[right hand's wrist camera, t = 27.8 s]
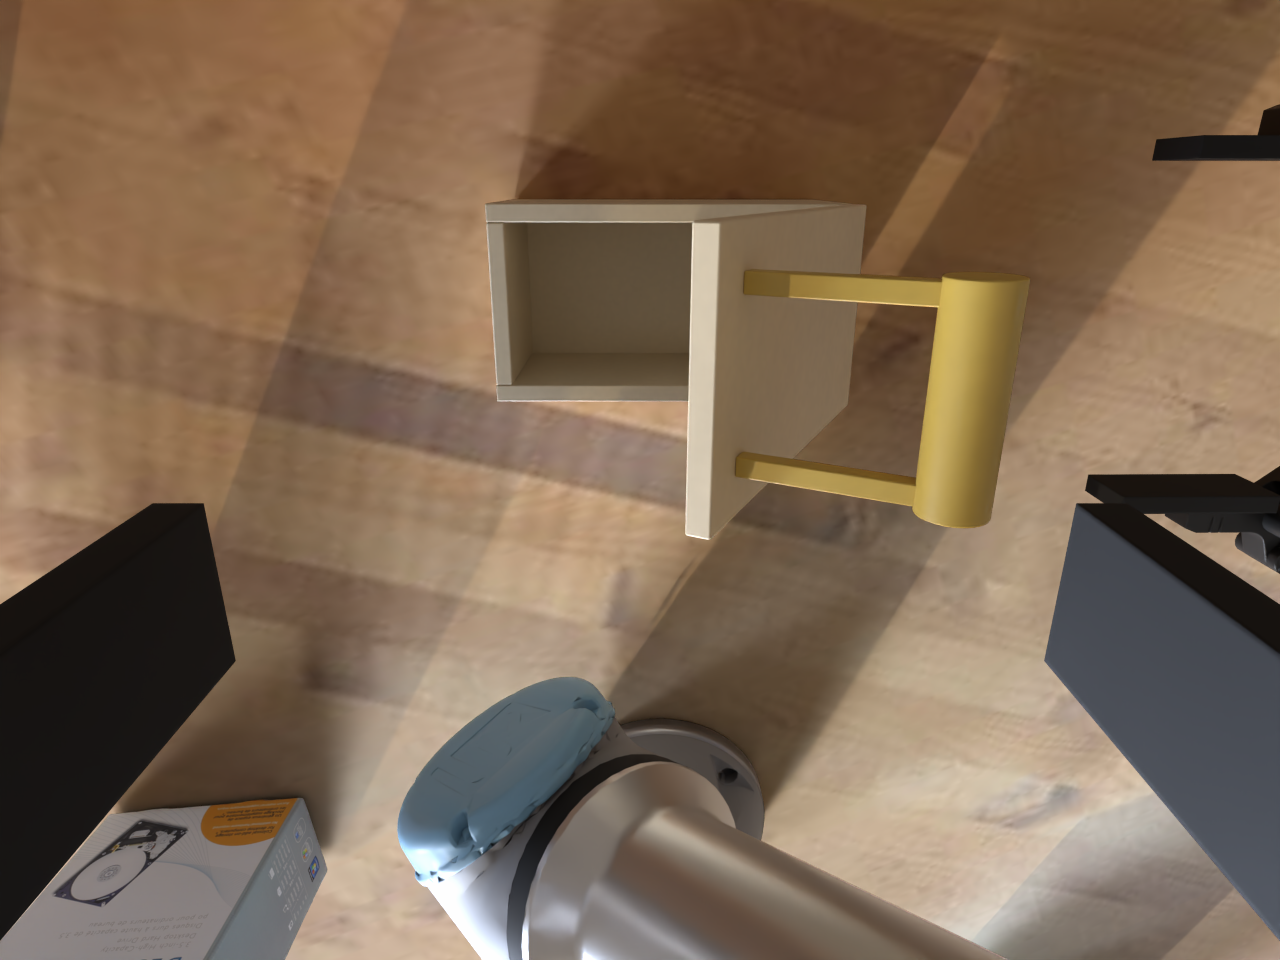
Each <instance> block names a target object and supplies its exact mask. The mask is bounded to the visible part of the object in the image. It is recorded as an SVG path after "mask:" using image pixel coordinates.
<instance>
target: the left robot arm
mask: <svg viewBox="0 0 1280 960" xmlns="http://www.w3.org/2000/svg"><path fill="white" fill-rule="evenodd" d="M1152 161H1280V104H1279V105H1276V106H1274V107H1271V108H1269V109H1266V110H1264V111H1263V115H1262V119H1261V124H1260V128H1259V132H1258V135H1201V136H1190V137H1179V138H1167V139H1157V140H1156V145H1155V149H1154V154H1153V159H1152ZM1085 491H1087V492H1088V493H1090V494H1091V495H1093V496H1094V497H1096V498H1097V499H1099V500H1100V501H1102V502H1103V503H1127V504H1129V505H1130V506H1132V507H1133V508H1135V509H1137V510H1138V511H1140V512H1141V513H1143V514H1165V516H1166V517H1168V518H1169V519H1171V520H1173V521H1174V522H1176V523H1178V524H1179V525H1181V526H1182V527H1184V528H1186V529H1188V530H1191V531H1193V532H1196V533H1208V532H1211V533H1215V532H1240V533H1239V534H1238V535H1237V537H1236V539H1235V545H1236V547H1237V549H1239V550H1241V551H1242V552H1244V553H1246V554H1247V555H1249V556H1251V557H1252V558H1254V559H1256V560H1257V561H1259V562H1261V563H1262V564H1264V565H1266V566H1267V567H1269V568H1271V569H1273V570H1274V571H1276V572H1278V573H1279V574H1280V466H1279V467H1278V468H1276V469H1275V470H1273V471H1272V472H1270V473H1268V474H1267V475H1265V476H1264V477H1262V478H1261V479H1259V480H1258V481H1256V482H1255V483H1253V482H1251V481H1248V480H1246V479H1244V478H1242V477H1240V476H1238V475H1236V474H1126V475H1088V479H1087V484H1086V489H1085ZM763 826H764V803H763V798H762V793H761V788H760V784H759V780H758V777H757V774H756V772H755V770H754V768H753V766H752V764H751V763H750V761H749V760H748V758H747V757H746V756H745V755H744V753H743V752H742V751H741V750H740V749H739V748H738V747H737V746H736V745H735V744H733V743H732V742H731V741H730V740H728V739H727V738H725V737H724V736H722V735H721V734H719V733H717V732H715V731H713V730H711V729H709V728H706V727H704V726H701V725H698V724H694V723H691V722H686V721H681V720H673V719H649V720H640V721H636V722H631V723H627V724H624V725H619V723H618V721H617V720H616V718H615V709H614V708H613V706H612V703H611V702H609V701H606V700H605V698H604V697H603V696H602V694H601V693H600V692H599V691H598V689H597V688H596V687H595V686H594V685H593V684H591V683H590V682H588V681H586V680H584V679H581V678H576V677H560V678H554V679H549V680H545V681H542V682H539V683H536V684H533V685H531V686H528V687H526V688H524V689H522V690H520V691H518V692H516V693H515V694H512V695H510V696H508V697H506V698H505V699H503V700H501V701H499V702H498V703H496V704H495V705H493V706H491V707H490V708H489V709H487V710H486V711H484V712H483V713H481V714H480V715H479V716H477V717H476V718H475V719H473V720H472V721H471V722H469V723H468V724H467V725H466V726H464V727H463V728H462V729H461V730H460V731H459V732H457V733H456V734H455V735H454V736H453V737H452V738H451V739H450V740H449V741H448V742H447V743H446V744H444V745H443V747H442V748H441V749H440V750H439V751H438V752H437V753H436V754H435V755H434V756H433V757H432V758H431V760H430V761H429V762H428V763H427V764H426V766H425V767H424V768H423V769H422V771H421V772H420V774H419V775H418V776H417V778H416V780H415V783H414V784H413V785H412V787H411V788H410V790H409V791H408V793H407V795H406V797H405V799H404V801H403V804H402V807H401V810H400V813H399V818H398V838H399V842H400V845H401V847H402V849H403V851H404V852H405V854H406V856H407V857H408V859H409V860H410V862H411V863H412V865H413V867H414V868H415V870H416V871H415V877H416V879H417V880H418V881H419V882H420V883H421V884H422V885H423V886H427V887H428V888H429V889H430V891H431V892H432V893H433V895H434V896H435V897H436V899H437V900H438V901H439V903H440V904H441V905H442V907H443V908H444V909H445V911H446V912H447V913H448V915H449V916H450V917H451V919H452V920H453V921H454V923H455V924H456V925H457V927H458V928H459V929H460V930H461V932H462V933H463V934H464V936H465V937H466V938H467V940H468V941H469V942H470V944H471V945H472V946H473V948H474V949H475V950H476V952H477V953H478V954H479V956H480V957H481V958H482V960H1008V959H1006V958H1004V957H1002V956H1000V955H998V954H996V953H994V952H992V951H989V950H987V949H985V948H983V947H981V946H979V945H977V944H975V943H973V942H971V941H969V940H967V939H964V938H962V937H960V936H958V935H956V934H954V933H952V932H950V931H948V930H946V929H944V928H942V927H940V926H937V925H935V924H933V923H931V922H929V921H927V920H925V919H923V918H921V917H919V916H917V915H915V914H912V913H910V912H908V911H906V910H904V909H902V908H900V907H898V906H896V905H894V904H892V903H890V902H887V901H885V900H883V899H881V898H879V897H877V896H875V895H873V894H871V893H869V892H867V891H865V890H863V889H860V888H858V887H856V886H854V885H852V884H850V883H848V882H846V881H844V880H842V879H840V878H838V877H835V876H833V875H831V874H829V873H827V872H825V871H823V870H821V869H819V868H817V867H815V866H813V865H810V864H808V863H806V862H804V861H802V860H800V859H798V858H796V857H794V856H792V855H790V854H788V853H786V852H783V851H781V850H779V849H777V848H775V847H773V846H771V845H769V844H767V843H765V842H763V841H761V838H762V833H763Z"/></svg>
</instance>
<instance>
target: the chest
mask: <svg viewBox="0 0 1280 960" xmlns="http://www.w3.org/2000/svg"><path fill="white" fill-rule="evenodd" d="M846 204H849V203H840V202H832V201H823V200H715V199H513V200H506V201H499V202H493V203H486V204H485V209H486V222H488V223H487V239H488V255H489V271H490V287H491V303H492V319H493V335H494V351H495V368H496V383H497V400H498V401H688V396H689V352H690V308H691V264H692V223H693V221H695V220H701V219H711V218H721V217H730V216H740V215H749V214H759V213H769V212H778V211H788V210H798V209H807V208H817V207H827V206H836V205H846Z"/></svg>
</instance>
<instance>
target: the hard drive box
mask: <svg viewBox="0 0 1280 960" xmlns="http://www.w3.org/2000/svg"><path fill="white" fill-rule="evenodd" d="M326 872H327V866H326V863H325V860H324V857H323V855H322V852H321V848H320V845H319V843H318V840H317V837H316V834H315V831H314V828H313V825H312V822H311V819H310V816H309V813H308V810H307V807H306V804H305V801H304V799H303V798H292V799H280V800H264V799H263V800H253V801H246V802H241V803H233V804H221V805H210V806H198V807H186V808H175V809H168V808H162V809H152V810H145V811H139V812H128V813H118V814H110V815H109V816H108V817H107V818H106V819H105V820H104V822H103V823H102V824H101V825H100V826H99V827H98V829H97V830H96V831H95V832H94V833H93V834H92V835H91V837H90V838H89V839H88V840H87V841H86V842H85V844H84V845H83V846H82V847H81V848H80V849H79V850H78V852H77V853H76V854H75V855H74V856H73V857H72V859H71V860H70V861H69V862H68V863H67V864H66V865H65V867H64V868H63V869H62V870H61V871H60V872H59V874H58V875H57V876H56V877H55V878H54V879H53V881H52V882H51V883H50V884H49V885H48V886H47V888H46V889H45V890H44V891H43V892H42V893H41V895H40V896H39V897H38V898H37V899H36V900H35V902H34V903H33V904H32V905H31V906H30V907H29V909H28V910H27V911H26V912H25V913H24V914H23V915H22V917H21V918H20V919H19V920H18V921H17V922H16V924H15V925H14V926H13V927H12V928H11V929H10V931H9V932H8V933H7V934H6V935H5V936H4V938H3V939H2V940H1V941H0V960H285V958H286V956H287V954H288V952H289V950H290V947H291V945H292V943H293V941H294V939H295V937H296V935H297V932H298V930H299V928H300V926H301V924H302V922H303V920H304V918H305V915H306V913H307V912H308V909H309V907H310V905H311V903H312V901H313V899H314V897H315V895H316V892H317V891H318V888H319V886H320V884H321V882H322V880H323V878H324V876H325V874H326Z"/></svg>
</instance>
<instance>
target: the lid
mask: <svg viewBox="0 0 1280 960" xmlns="http://www.w3.org/2000/svg"><path fill="white" fill-rule="evenodd" d="M866 207H867V206H866V205H865V204H846V205H836V206H827V207H817V208H807V209H798V210H788V211H778V212H769V213H759V214H749V215H740V216H730V217H721V218H711V219H701V220H695V221H693V223H692V264H691V308H690V352H689V396H688V440H687V483H686V527H685V534H686V535H688V536H693V537H698V538H703V539H707V540H710V539H712V538H713V537H714V536H715V535H716V534H717V533H718V532H719V531H720V530H721V529H722V528H723V527H724V526H725V525H726V524H727V523H728V522H729V521H730V520H731V519H732V518H733V517H734V516H735V515H736V514H737V513H738V512H739V511H740V510H741V509H742V508H743V507H744V506H745V505H746V504H747V503H748V502H749V501H750V500H751V499H752V498H753V497H754V496H755V495H756V494H757V493H758V492H759V491H761V490H762V489H763V488H764V487H765V486H766V485H767V484H768V483H775V484H781V485H787V486H793V487H799V488H805V489H811V490H817V491H823V492H829V493H835V494H841V495H847V496H853V497H859V498H865V499H871V500H877V501H883V502H889V503H895V504H901V505H907V506H912V510H913V512H914V513H915V515H917V516H918V517H919V518H921V519H923V520H925V521H927V522H930V523H933V524H937V525H941V526H946V527H953V528H975V527H980V526H983V525H986V524H987V523H988V522H989V521H990V519H991V513H992V507H993V501H994V495H995V489H996V483H997V477H998V471H999V465H1000V459H1001V453H1002V447H1003V441H1004V435H1005V429H1006V423H1007V417H1008V411H1009V405H1010V399H1011V393H1012V387H1013V381H1014V375H1015V369H1016V363H1017V357H1018V351H1019V345H1020V339H1021V333H1022V327H1023V321H1024V315H1025V309H1026V303H1027V297H1028V291H1029V285H1030V278H1029V277H1026V276H1022V275H1016V274H1007V273H994V272H952V273H946V274H943V276H942V278H924V277H904V276H885V275H865V274H860V270H861V260H862V249H863V239H864V228H865V217H866ZM857 302H864V303H879V304H894V305H910V306H925V307H938V311H937V319H936V327H935V334H934V342H933V350H932V358H931V366H930V373H929V381H928V389H927V397H926V404H925V412H924V420H923V428H922V435H921V443H920V451H919V459H918V466H917V474H916V478H915V477H908V476H902V475H895V474H888V473H882V472H875V471H869V470H862V469H856V468H849V467H842V466H836V465H829V464H823V463H816V462H810V461H803V460H796V459H793V458H794V457H795V456H796V455H797V454H798V453H799V452H800V451H801V450H802V449H803V448H804V447H805V446H806V445H807V444H808V443H809V442H810V441H811V440H812V439H813V438H815V437H816V436H817V435H818V434H819V433H820V432H821V431H822V430H823V429H824V428H825V427H826V426H827V425H828V424H829V423H830V422H831V421H832V420H833V419H834V418H835V417H836V416H837V415H838V414H839V413H840V412H841V411H842V410H843V409H844V408H845V407H846V406H847V405H848V398H849V387H850V377H851V366H852V355H853V345H854V334H855V324H856V313H857Z"/></svg>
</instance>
